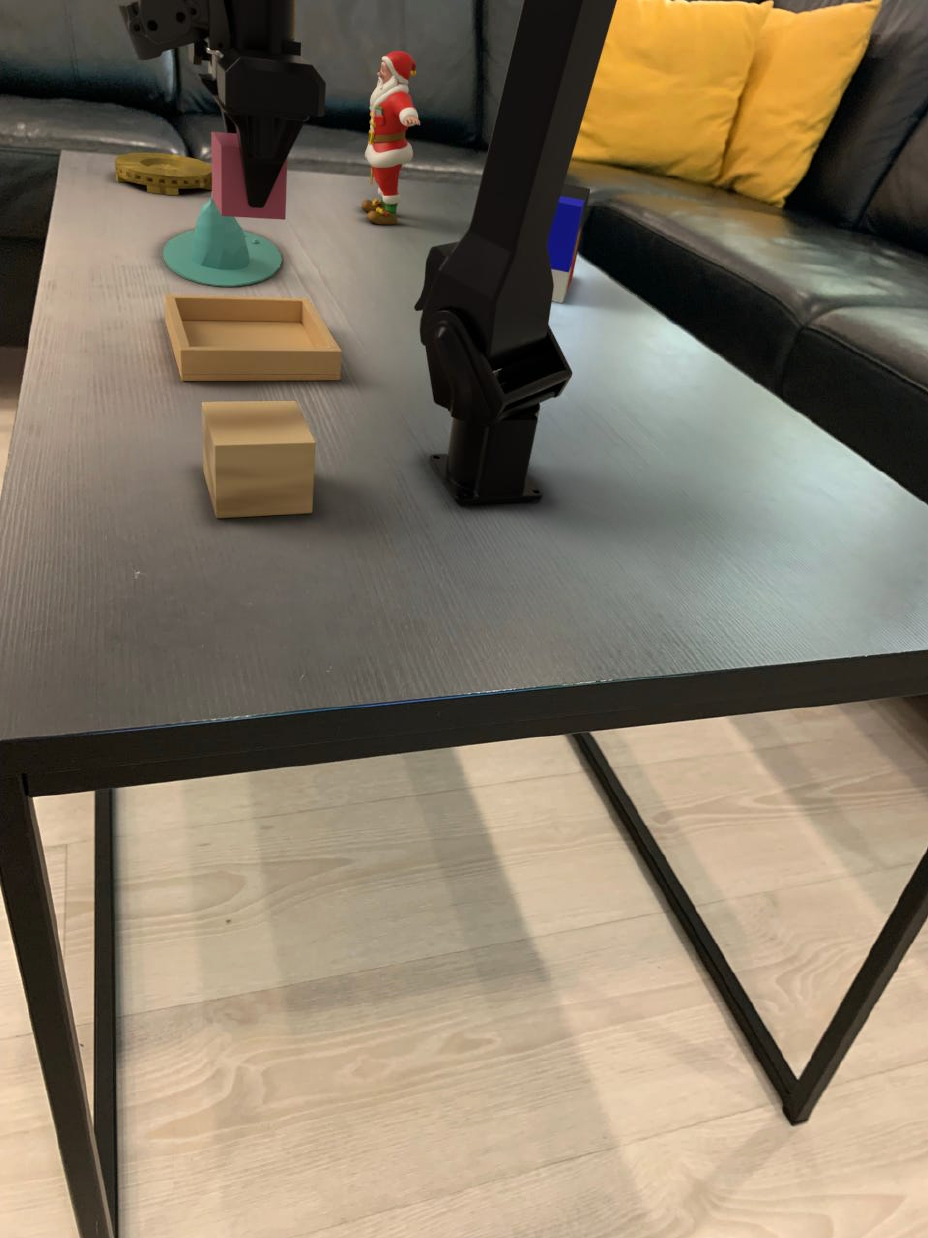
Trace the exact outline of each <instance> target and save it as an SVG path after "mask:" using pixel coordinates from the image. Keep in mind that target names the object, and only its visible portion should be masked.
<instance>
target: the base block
mask: <svg viewBox="0 0 928 1238" xmlns="http://www.w3.org/2000/svg"><path fill="white" fill-rule="evenodd" d="M201 424H202V425H201V427H202V428H201V429H202V464H203V465H202V466H203V469H202V470H203V476H204V478H205V482H206V486H207V489H208V494H209V498H210V501H211V504H212V505H211V506H212V508H213V511H214V516H215V518H216V519H228V518H229V519H230V518H246V517H263V516H265V517H266V516H267V517H268V516H285V515H303V514H304V515H305V514H312V513H313V508H314V507H313V506H314V505H313V504H314V487H315V485H314V484H315V468H316V467H315V466H316V447H317V446H316V445H317V443H316V442H317V441H315V438H314V436H313V433H312V431H311V430H310V427H309V425H308V423H307V421H306V419H305V417H304V415H303V412H302V411H301V407H300V406H299V404H298V402H297V401H296V400H264V401H263V400H254V401H253V400H250V401H249V400H248V401H247V400H245V401H243V400H242V401H241V400H240V401H239V400H238V401H201Z"/></svg>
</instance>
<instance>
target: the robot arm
mask: <svg viewBox="0 0 928 1238" xmlns="http://www.w3.org/2000/svg"><path fill="white" fill-rule="evenodd" d="M114 2H115V5H116V8H117V11H118V13H119V16H120V19H121V21H122V25H123V27H124V29H125V32H126V35H127V37H128V40H129V43H130V45H131V48H132V52H133V53H134V54H135V56H136V59H137V60H138V61H141V62H143V61H144V62H145V61H148V60H149V61H150V60H154V59H157V58H160V57H161V56H162V54H163V53H164V52H168V51H171V50H174V49H178V48H181V47H185V46H187V48H188V49H187V50H188V52H187V53H188V60H189V61H190V63H191V64H192V65H193V66H194V65H195V66H202V65H203V61H205V62H207V68H208V69H207V72H196V76H197V78H198V80H199V81H200V82H201V84H202V85H203V86H204V87H205V89H206V90H207V91H208V92H209V93H210V94H211V96H212V97H213V99H214V101H215V102H216V104H217V105H218V107H219V108H220V113H221V117H222V122H223V127H224V133H234V134H237V138H238V144H239V151H240V158H241V164H242V171H243V178H244V184H245V190H246V196H247V202H248V205H249V206H250V207H254V208H263V207H264V206H265V204H266V202H267V199H268V197H269V195H270V193H271V191H272V189H273V186H274V184H275V182H276V180H277V178H278V176H279V173H280V171H281V169H282V167H283V165H284V163H285V161H286V159H287V160H288V156H289V154H290V153H291V151H292V148H293V146H294V145H295V143H296V140H297V139H298V137H299V135H300V133H301V130H302V129H303V127H304V125H305V123H306V121H309V120H310V118H311V117H317V118H319V117H325V110H326V109H325V108H326V91H327V90H326V89H327V82H326V80H324V78H323V77H322V76H321V74H320V73H319V72H318V70H317V69H316V67H315V66H314V65H313V64H312V63H311V62H310V61H308V60H307V59H306V58H304V57H303V56H302V42H301V41H300V40H299V39H297V38H296V37H295V36H296V8H297V0H114ZM617 2H618V0H522V3H521V9H520V12H519V17H518V21H517V25H516V29H515V33H514V37H513V42H512V46H511V51H510V55H509V60H508V63H507V68H506V72H505V76H504V81H503V85H502V89H501V93H500V97H499V101H498V105H497V110H496V114H495V119H494V123H493V127H492V132H491V135H490V139H489V145H488V149H487V153H486V157H485V160H484V164H483V165H484V166H483V169H482V175H481V178H480V183H479V187H478V191H477V196H476V199H475V204H474V208H473V212H472V217H471V220H470V223H469V225H468V227H467V228H466V229H467V230H466V231H465V232H464V234H463V235H462V237H461V238H460V240H457V241H453V242H449V243H444V244H439V245H434V246H432V247H430V249H429V251H428V255H427V257H426V260H425V270H424V281H423V287H422V290H421V292H420V295H419V298H418V299H417V301H416V303H415V304H414V305H413V306H414V307H413V309H414V310H415V312H421V314H420V319H419V329H418V330H419V331H418V332H419V339H420V343H421V345H422V346H424V347H425V352H426V353H425V355H426V361H427V367H428V373H429V379H430V386H431V392H432V393H431V394H432V399H433V402H434V403H435V404H436V405H438V406H439V407H441V408H444V409H446V410H447V411H448V412H449V414H450V417H451V418H452V421H451V429H450V437H449V443H448V449H447V450H448V451H447V453H433V454H431V455H430V456H429V460H428V461H429V464H430V466H431V468H432V469H433V471H434V472H435V473H436V475H437V477H438V478H439V480H440V481H441V483H442V485H443V486H444V487H445V489H446V490H447V492H448V494H449V495H450V497H451V498H452V499H453V501H454V502H455V503H456V504H458V505H462V506H463V505H464V506H465V505H480V504H481V505H482V504H484V505H485V504H498V503H502V504H503V503H514V502H516V503H517V502H519V503H520V502H535V501H537V502H538V501H541V500H542V499H543V496H544V491H543V490H542V488H540V487H539V485H538V484H537V482H536V481H535V480H534V479H533V477H532V476H531V475H530V474H529V466H530V462H531V456H532V451H533V446H534V442H535V437H536V432H537V427H538V421H539V415H540V411H541V403H544V402H546V401H549V400H550V399H556V398H558V397H560V396H561V395H562V394H563V392H564V390H565V388H566V387H567V386H568V384H569V382H570V380H571V379H572V377H573V370H572V368H571V366H570V364H569V362H568V359H567V358H566V356H565V354H564V352H563V350H562V348H561V347H560V345H559V342H558V340H557V338H556V336H555V334H554V332H553V330H552V328H551V326H550V324H549V322H550V316H551V308H552V302H553V301H552V296H553V289H554V282H553V276H552V270H551V264H550V258H549V252H548V239H549V234H550V230H551V227H552V223H553V220H554V216H555V213H556V209H557V206H558V203H559V199H560V196H561V192H562V189H563V185H564V184H565V183H566V182H565V181H566V178H567V175H568V172H569V168H570V164H571V160H572V157H573V154H574V151H575V147H576V143H577V140H578V137H579V133H580V130H581V126H582V123H583V119H584V116H585V112H586V109H587V105H588V102H589V98H590V95H591V92H592V88H593V84H594V81H595V78H596V75H597V71H598V68H599V64H600V61H601V57H602V55H603V52H604V51H603V50H604V47H605V44H606V40H607V37H608V33H609V30H610V25H611V22H612V20H613V16H614V13H615V9H616V5H617Z"/></svg>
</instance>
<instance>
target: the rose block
mask: <svg viewBox="0 0 928 1238" xmlns="http://www.w3.org/2000/svg"><path fill="white" fill-rule="evenodd" d="M210 133H211V136H210V137H211V166H212V190H211V193H212V199H213V201H214V202H215V204H216V206H217V208H218V210H219V212H220V214H221V215H222V216H229V217H235V218H247V219H249V218H250V219H264V220H265V219H266V220H284V221H285V220H286V215H287V186H288V183H287V182H288V158H287V159H286V161H285V163H284V165H283V167H282V169H281V171H280V173H279V176H278V178H277V180H276V182H275V184H274V186H273V189H272V191H271V193H270V195H269V197H268V199H267V202H266V204H265V206H264V207H263V208H254V207H250V206H249V205H248V202H247V196H246V190H245V184H244V178H243V171H242V164H241V158H240V151H239V144H238V138H237V134H234V133H226V132H221V131H211V132H210Z"/></svg>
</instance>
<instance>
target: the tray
mask: <svg viewBox="0 0 928 1238" xmlns="http://www.w3.org/2000/svg"><path fill="white" fill-rule="evenodd" d="M163 299H164V316H165V317H164V320H165V321H164V322H165V326H166V329H167V332H168V337H169V341H170V344H171V348H172V351H173V354H174V358H175V362H176V365H177V369H178V373H179V376H180V380H181V382H215V381H216V382H218V381H219V382H232V381H233V382H234V381H235V382H238V381H239V382H241V381H242V382H243V381H245V382H246V381H247V382H249V381H250V382H251V381H252V382H253V381H256V382H257V381H264V382H265V381H266V382H267V381H269V382H271V381H274V382H275V381H340V380H341V368H342V352H343V351H342V350H341V348H340V346H339V345H338V343H337V341H336V340H335V338H334V336H333V335H332V333H331V332H330V330H329V328H328V327H327V325H326V323H325V322H324V321H323V319H322V317H321V316H320V314H319V312H318V310H317V309H316V308H315V306H314V304H313V302H312V301H311V300H310V298H308V297H282V296H281V297H280V296H243V295H241V296H239V295H208V294H207V295H205V294H172V293H171V294H170V293H169V294H168V293H167V294H164V295H163Z"/></svg>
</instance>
